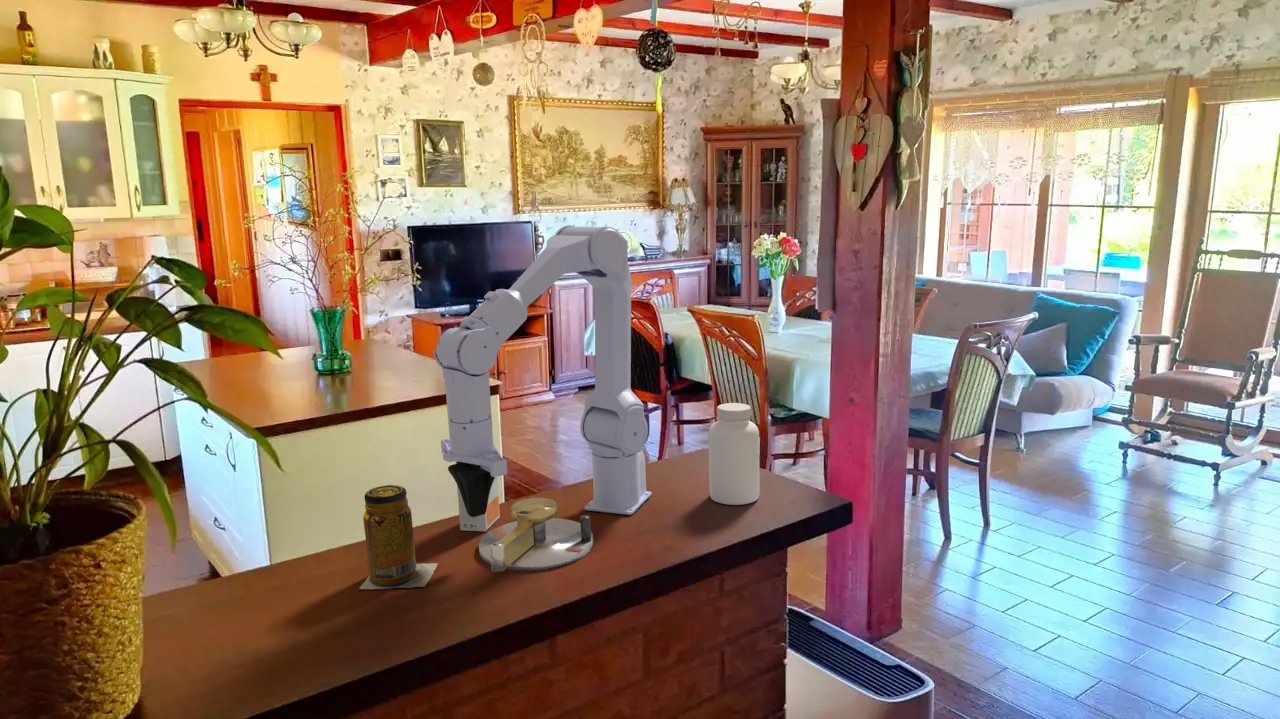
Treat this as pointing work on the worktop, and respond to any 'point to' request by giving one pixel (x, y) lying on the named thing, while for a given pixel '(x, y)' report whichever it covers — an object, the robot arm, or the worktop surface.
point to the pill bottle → (733, 456)
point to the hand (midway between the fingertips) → (476, 514)
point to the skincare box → (483, 520)
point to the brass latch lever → (521, 531)
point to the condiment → (391, 541)
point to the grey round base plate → (545, 543)
